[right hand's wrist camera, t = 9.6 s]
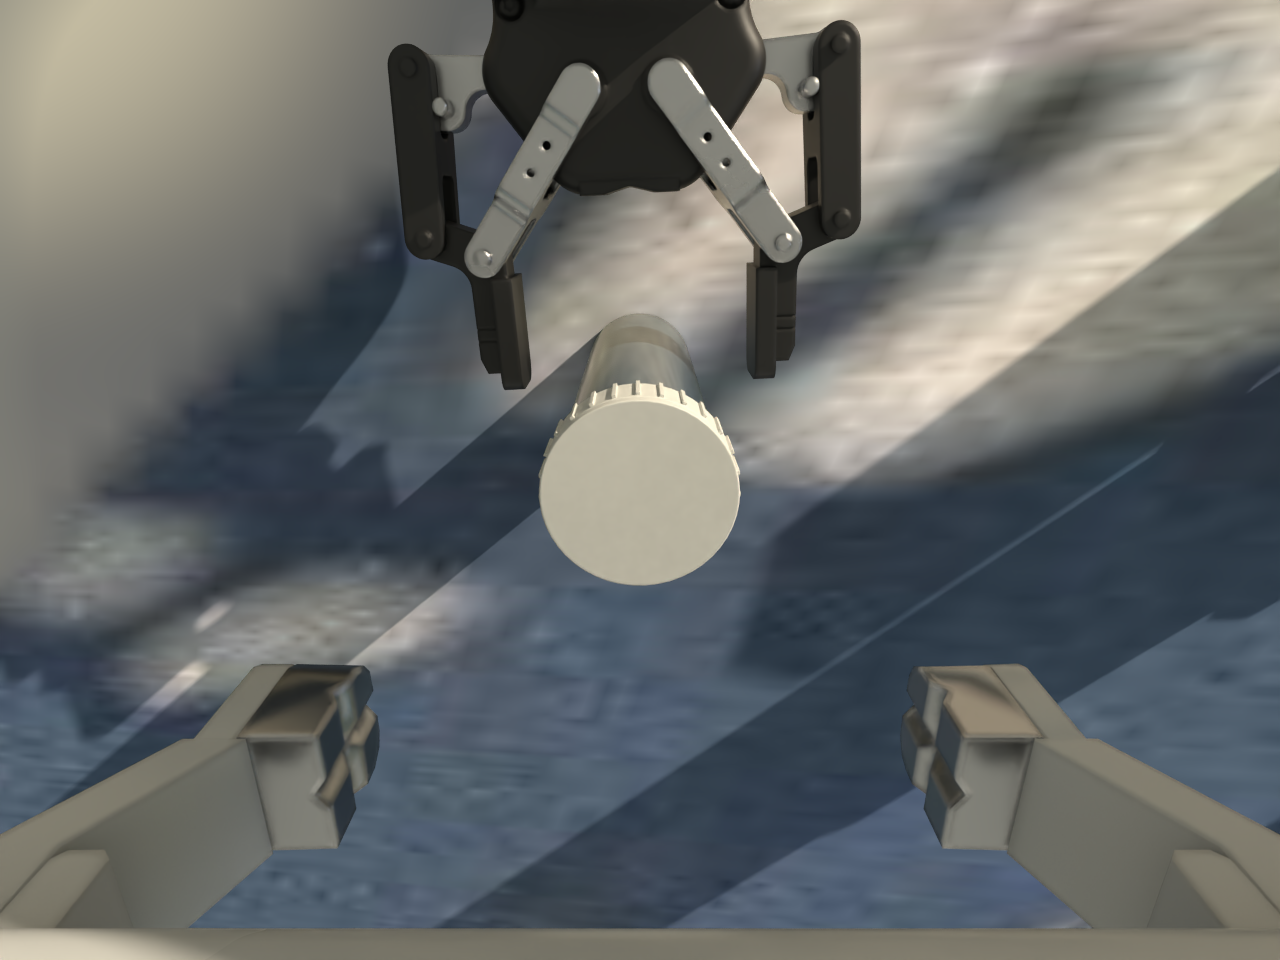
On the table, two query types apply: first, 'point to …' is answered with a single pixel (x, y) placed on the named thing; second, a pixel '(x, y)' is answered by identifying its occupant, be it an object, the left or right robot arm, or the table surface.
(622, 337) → the dark grey cylinder
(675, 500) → the lid
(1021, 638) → the table surface
